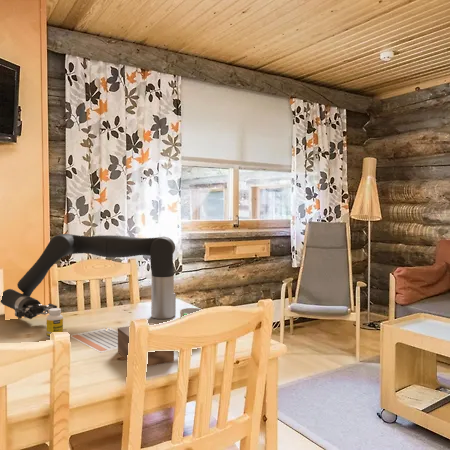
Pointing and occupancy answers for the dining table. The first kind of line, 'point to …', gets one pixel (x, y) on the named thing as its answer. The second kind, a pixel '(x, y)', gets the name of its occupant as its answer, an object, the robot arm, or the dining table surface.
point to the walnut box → (153, 357)
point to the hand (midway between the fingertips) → (43, 314)
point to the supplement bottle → (54, 321)
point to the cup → (188, 311)
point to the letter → (99, 339)
